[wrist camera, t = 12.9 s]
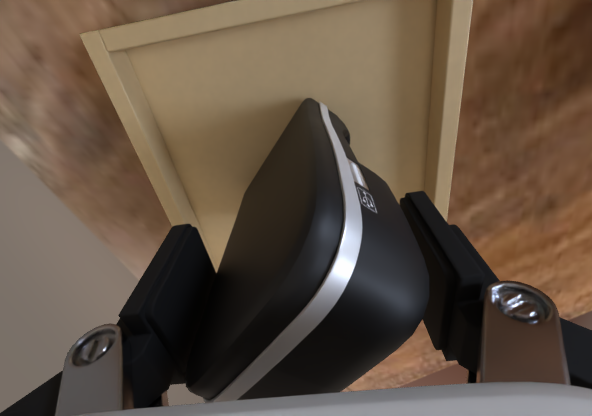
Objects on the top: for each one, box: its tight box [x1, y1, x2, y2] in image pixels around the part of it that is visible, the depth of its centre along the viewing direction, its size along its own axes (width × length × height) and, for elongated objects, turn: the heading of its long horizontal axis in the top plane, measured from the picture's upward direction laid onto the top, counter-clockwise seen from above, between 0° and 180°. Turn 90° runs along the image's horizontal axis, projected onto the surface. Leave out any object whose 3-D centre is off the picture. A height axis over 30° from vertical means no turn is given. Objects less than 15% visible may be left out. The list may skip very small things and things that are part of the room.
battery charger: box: [185, 98, 429, 403], centre depth 11 cm, size 7×4×11 cm, turn 147°
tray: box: [79, 0, 473, 273], centre depth 16 cm, size 15×16×2 cm
